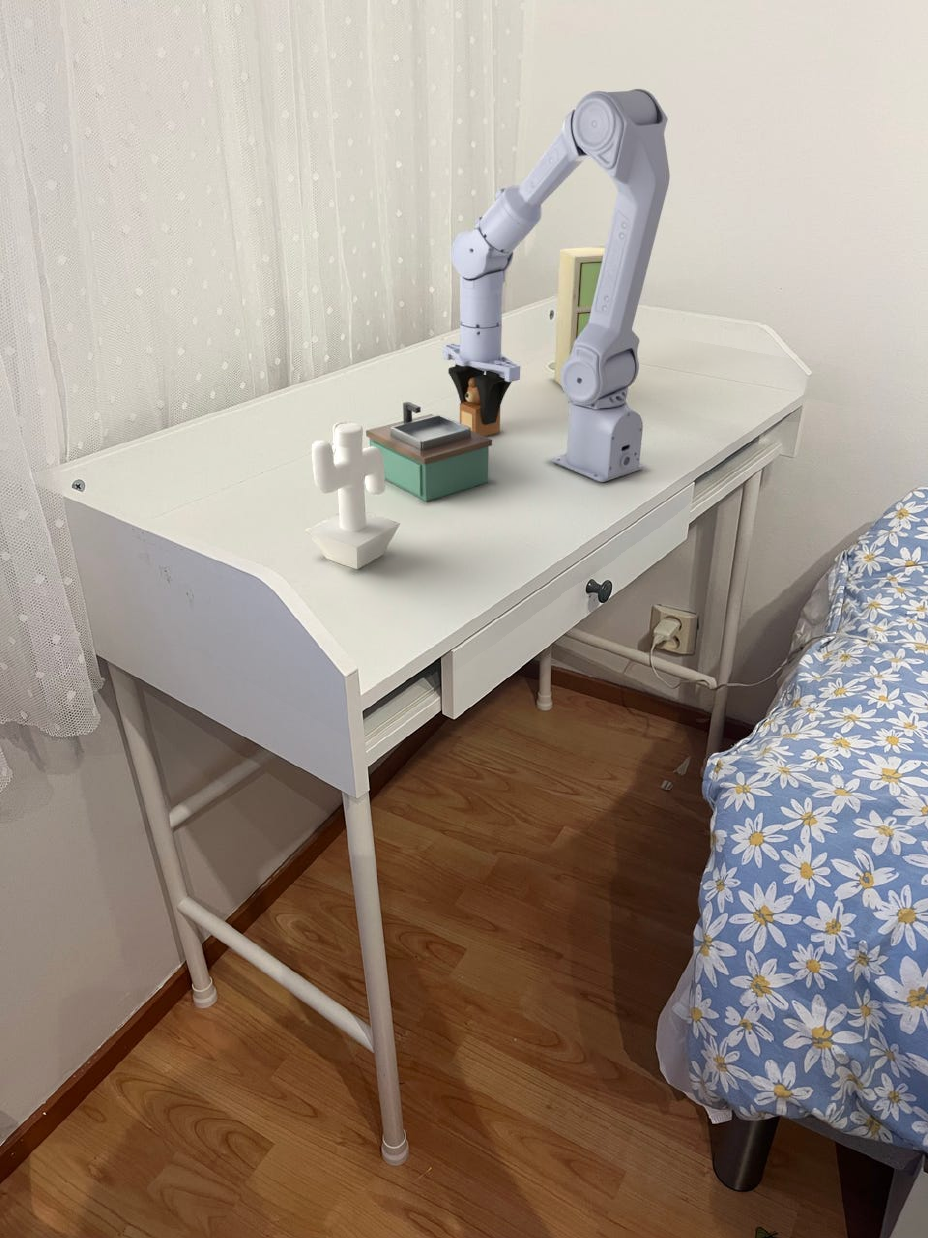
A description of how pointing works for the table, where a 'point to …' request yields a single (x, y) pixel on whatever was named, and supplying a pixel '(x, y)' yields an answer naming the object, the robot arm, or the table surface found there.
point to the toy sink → (431, 454)
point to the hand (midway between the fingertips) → (479, 419)
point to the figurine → (350, 498)
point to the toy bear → (476, 413)
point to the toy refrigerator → (574, 298)
